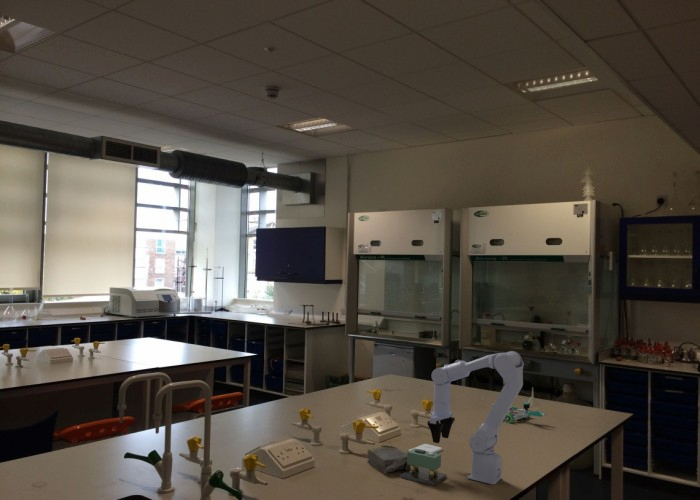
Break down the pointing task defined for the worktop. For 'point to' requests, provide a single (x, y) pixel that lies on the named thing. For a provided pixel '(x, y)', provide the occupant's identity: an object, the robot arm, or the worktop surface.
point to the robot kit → (521, 413)
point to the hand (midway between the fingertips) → (440, 440)
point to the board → (424, 459)
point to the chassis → (423, 475)
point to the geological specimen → (387, 459)
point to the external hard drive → (429, 448)
